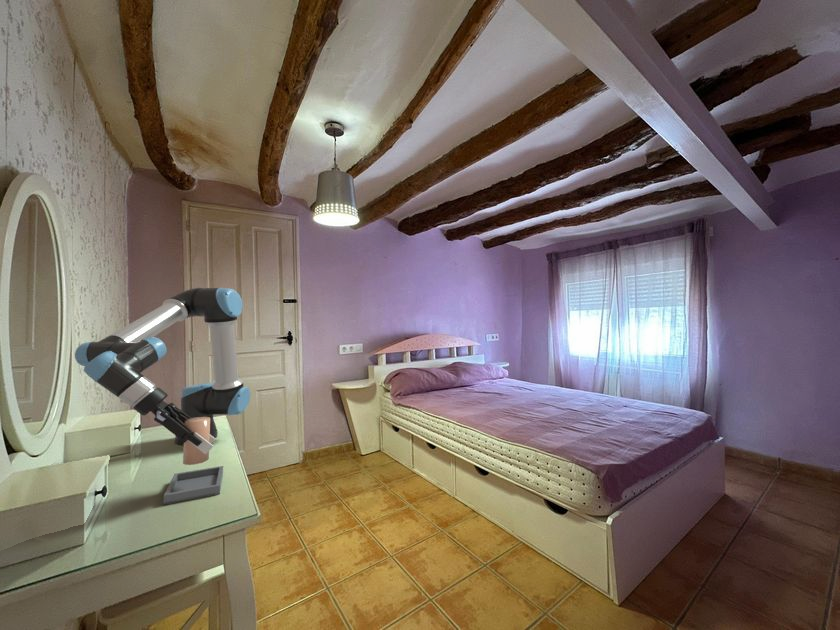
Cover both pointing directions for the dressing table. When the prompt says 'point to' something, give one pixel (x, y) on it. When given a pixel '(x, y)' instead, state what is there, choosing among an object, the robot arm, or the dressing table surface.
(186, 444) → the peach domed cylinder
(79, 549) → the dressing table surface
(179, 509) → the dressing table surface
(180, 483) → the tray
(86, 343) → the robot arm
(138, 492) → the dressing table surface
